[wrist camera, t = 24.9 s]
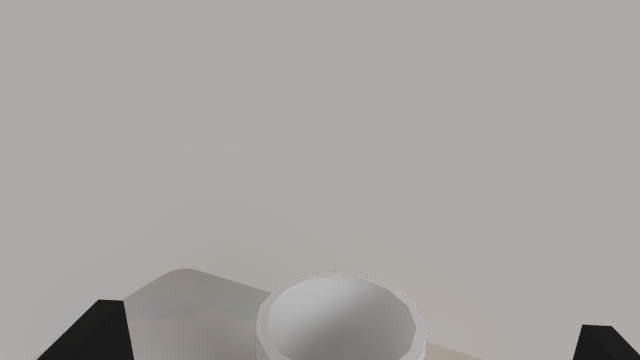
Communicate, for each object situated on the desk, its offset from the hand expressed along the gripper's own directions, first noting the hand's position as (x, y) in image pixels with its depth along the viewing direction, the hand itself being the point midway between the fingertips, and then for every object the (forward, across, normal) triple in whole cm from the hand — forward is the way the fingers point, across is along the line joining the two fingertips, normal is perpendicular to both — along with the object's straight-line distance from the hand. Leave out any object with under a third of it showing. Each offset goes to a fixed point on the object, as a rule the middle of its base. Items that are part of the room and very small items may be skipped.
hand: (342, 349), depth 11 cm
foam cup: (+9, 0, -19) cm, 21 cm away
